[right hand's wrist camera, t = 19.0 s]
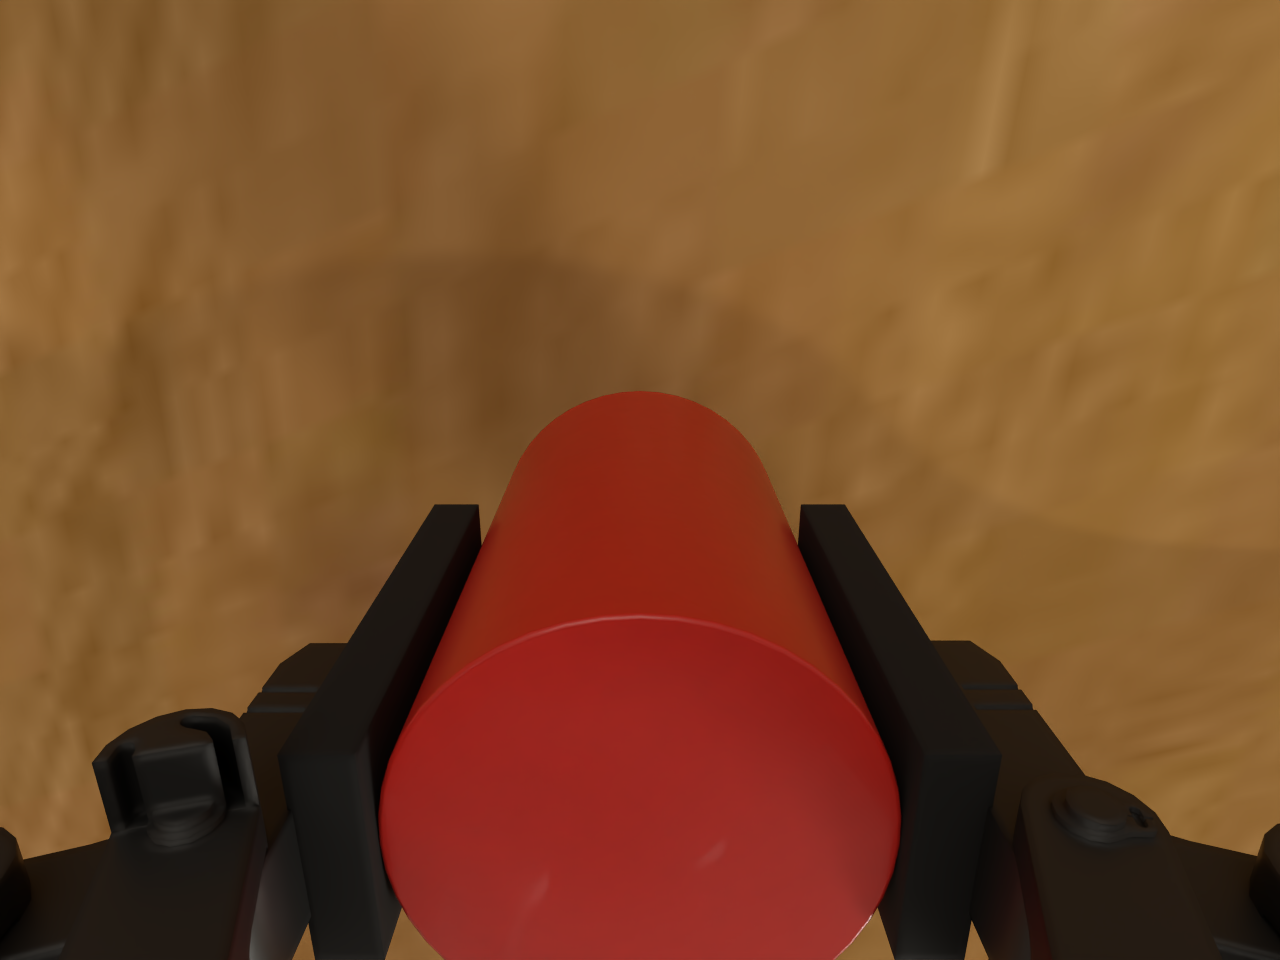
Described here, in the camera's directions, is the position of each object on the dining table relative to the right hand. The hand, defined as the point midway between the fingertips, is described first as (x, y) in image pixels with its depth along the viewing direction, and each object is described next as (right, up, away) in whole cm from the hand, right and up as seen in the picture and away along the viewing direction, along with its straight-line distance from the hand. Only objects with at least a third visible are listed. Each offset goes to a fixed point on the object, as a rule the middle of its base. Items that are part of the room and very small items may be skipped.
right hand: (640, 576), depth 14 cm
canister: (0, +1, +2) cm, 3 cm away
